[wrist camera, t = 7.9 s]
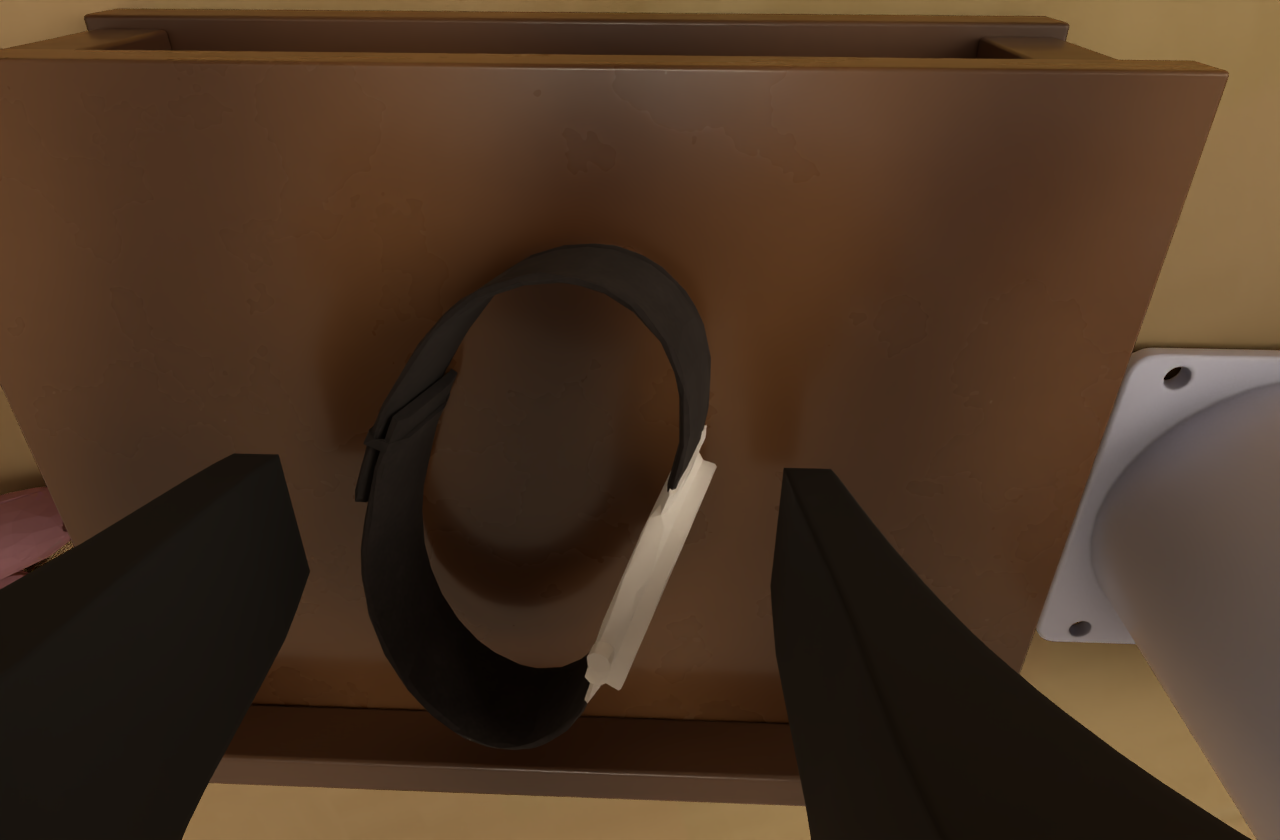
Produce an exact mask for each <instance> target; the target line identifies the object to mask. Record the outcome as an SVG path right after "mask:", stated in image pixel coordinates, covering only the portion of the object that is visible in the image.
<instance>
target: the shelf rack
mask: <svg viewBox="0 0 1280 840" xmlns="http://www.w3.org/2000/svg"><path fill="white" fill-rule="evenodd" d="M84 20H85V23H86V26H87V29H88V31H86V32H81V33H76V34H72V35H67V36H62V37H57V38H53V39H48V40H43V41H39V42H34V43H29V44H25V45H20V46H15V47H10V48H6V49H0V385H1V387H2V389H3V391H4V393H5V396H6V398H7V400H8V402H9V404H10V407H11V409H12V411H13V413H14V415H15V418H16V420H17V422H18V424H19V426H20V429H21V431H22V433H23V435H24V437H25V440H26V442H27V444H28V446H29V448H30V451H31V453H32V455H33V457H34V459H35V462H36V464H37V466H38V468H39V470H40V473H41V475H42V477H43V479H44V481H45V484H46V486H47V488H48V490H49V492H50V495H51V497H52V499H53V501H54V503H55V505H56V508H57V510H58V512H59V514H60V516H61V519H62V521H63V523H64V525H65V527H66V530H67V532H68V534H69V536H70V538H71V541H72V543H73V545H74V547H76V546H78V545H79V544H81V543H83V542H85V541H86V540H88V539H90V538H91V537H93V536H95V535H96V534H98V533H100V532H101V531H103V530H104V529H106V528H108V527H109V526H111V525H113V524H114V523H116V522H118V521H119V520H121V519H123V518H124V517H126V516H127V515H129V514H131V513H132V512H134V511H136V510H137V509H139V508H141V507H142V506H144V505H146V504H147V503H149V502H150V501H152V500H154V499H155V498H157V497H159V496H160V495H162V494H163V493H165V492H167V491H168V490H170V489H172V488H173V487H175V486H177V485H178V484H180V483H182V482H183V481H185V480H187V479H188V478H190V477H192V476H193V475H195V474H197V473H198V472H200V471H202V470H204V469H205V468H207V467H209V466H210V465H212V464H214V463H216V462H218V461H220V460H222V459H224V458H226V457H228V456H230V455H232V454H234V453H239V454H278V455H279V458H280V461H281V465H282V469H283V473H284V476H285V480H286V484H287V487H288V491H289V495H290V499H291V502H292V506H293V510H294V513H295V517H296V521H297V525H298V528H299V532H300V536H301V539H302V543H303V547H304V551H305V554H306V558H307V562H308V566H309V569H310V573H309V576H308V579H307V582H306V585H305V588H304V591H303V594H302V597H301V599H300V602H299V605H298V608H297V611H296V613H295V616H294V619H293V621H292V624H291V626H290V629H289V631H288V634H287V637H286V639H285V641H284V643H283V645H282V647H281V649H280V651H279V653H278V655H277V657H276V658H275V660H274V662H273V664H272V666H271V668H270V670H269V672H268V674H267V675H266V677H265V679H264V681H263V683H262V685H261V687H260V689H259V691H258V692H257V694H256V696H255V698H254V700H253V702H252V704H251V705H250V707H249V709H248V711H247V713H246V715H245V717H244V718H243V720H242V722H241V724H240V726H239V728H238V729H237V731H236V733H235V735H234V737H233V739H232V741H231V742H230V744H229V746H228V748H227V750H226V752H225V754H224V755H223V757H222V759H221V761H220V763H219V765H218V766H217V768H216V770H215V772H214V774H213V776H212V778H211V779H210V781H209V783H221V784H247V785H272V786H298V787H324V788H350V789H376V790H401V791H427V792H453V793H479V794H505V795H531V796H556V797H582V798H608V799H634V800H660V801H685V802H711V803H737V804H763V805H789V806H806V805H805V800H804V795H803V790H802V785H801V780H800V775H799V770H798V765H797V760H796V755H795V750H794V745H793V740H792V735H791V730H790V725H789V720H788V715H787V710H786V705H785V700H784V695H783V690H782V685H781V680H780V675H779V670H778V664H777V659H776V653H775V641H774V629H773V616H772V602H771V588H770V584H771V575H772V567H773V558H774V549H775V540H776V532H777V523H778V514H779V505H780V496H781V488H782V479H783V470H784V468H816V469H832V471H833V472H834V473H835V474H836V475H837V476H838V477H839V478H840V480H841V481H842V482H843V484H844V485H845V486H846V488H847V489H848V490H849V492H850V493H851V494H852V496H853V497H854V498H855V500H856V501H857V502H858V503H859V505H860V506H861V507H862V509H863V510H864V511H865V513H866V514H867V515H868V516H869V518H870V519H871V520H872V521H873V523H874V524H875V525H876V526H877V528H878V529H879V530H880V531H881V533H882V534H883V535H884V536H885V538H886V539H887V540H888V541H889V542H890V544H891V545H892V546H893V547H894V548H895V550H896V551H897V552H898V553H899V554H900V555H901V556H902V558H903V559H904V560H905V561H906V562H907V563H908V564H909V566H910V567H911V568H912V569H913V570H914V571H915V572H916V574H917V575H918V576H919V577H920V578H921V579H922V581H923V582H924V583H925V584H926V585H927V586H928V587H929V588H930V589H931V590H932V591H933V593H934V594H935V595H936V596H937V597H938V598H939V599H940V600H941V601H942V602H943V603H944V604H945V605H946V606H947V607H948V608H949V609H950V610H951V611H952V612H953V613H954V614H955V615H956V616H957V618H958V619H959V620H960V621H961V622H962V623H963V624H964V625H965V626H966V627H967V628H968V629H969V630H970V631H971V632H972V633H973V634H974V635H976V636H977V637H978V638H979V639H980V640H981V641H982V642H983V643H984V644H985V645H986V646H987V647H988V648H989V649H991V650H992V651H993V652H994V653H995V654H996V655H997V656H999V657H1000V658H1001V659H1002V660H1003V661H1004V662H1006V663H1007V664H1008V665H1009V666H1010V667H1011V668H1012V669H1014V670H1015V671H1016V672H1017V673H1018V674H1019V675H1020V672H1021V669H1022V666H1023V663H1024V661H1025V658H1026V655H1027V652H1028V649H1029V646H1030V643H1031V641H1032V638H1033V635H1034V632H1035V629H1036V626H1037V623H1038V621H1039V618H1040V615H1041V612H1042V609H1043V606H1044V603H1045V600H1046V598H1047V595H1048V592H1049V589H1050V586H1051V583H1052V580H1053V578H1054V575H1055V572H1056V569H1057V566H1058V563H1059V560H1060V558H1061V555H1062V552H1063V549H1064V546H1065V543H1066V540H1067V538H1068V535H1069V532H1070V529H1071V526H1072V523H1073V520H1074V517H1075V515H1076V512H1077V509H1078V506H1079V503H1080V500H1081V497H1082V495H1083V492H1084V489H1085V486H1086V483H1087V480H1088V477H1089V475H1090V472H1091V469H1092V466H1093V463H1094V460H1095V457H1096V455H1097V452H1098V449H1099V446H1100V443H1101V440H1102V437H1103V434H1104V432H1105V429H1106V426H1107V423H1108V420H1109V417H1110V414H1111V412H1112V409H1113V406H1114V403H1115V400H1116V397H1117V394H1118V392H1119V389H1120V386H1121V383H1122V380H1123V377H1124V374H1125V372H1126V369H1127V366H1128V363H1129V360H1130V357H1131V354H1132V351H1133V349H1134V346H1135V343H1136V340H1137V337H1138V334H1139V331H1140V329H1141V326H1142V323H1143V320H1144V317H1145V314H1146V311H1147V309H1148V306H1149V303H1150V300H1151V297H1152V294H1153V291H1154V289H1155V286H1156V283H1157V280H1158V277H1159V274H1160V271H1161V268H1162V266H1163V263H1164V260H1165V257H1166V254H1167V251H1168V248H1169V246H1170V243H1171V240H1172V237H1173V234H1174V231H1175V228H1176V226H1177V223H1178V220H1179V217H1180V214H1181V211H1182V208H1183V205H1184V203H1185V200H1186V197H1187V194H1188V191H1189V188H1190V185H1191V183H1192V180H1193V177H1194V174H1195V171H1196V168H1197V165H1198V163H1199V160H1200V157H1201V154H1202V151H1203V148H1204V145H1205V143H1206V140H1207V137H1208V134H1209V131H1210V128H1211V125H1212V122H1213V120H1214V117H1215V114H1216V111H1217V108H1218V105H1219V102H1220V100H1221V97H1222V94H1223V91H1224V88H1225V85H1226V82H1227V80H1228V77H1229V73H1228V72H1227V71H1225V70H1222V69H1219V68H1215V67H1212V66H1209V65H1205V64H1202V63H1199V62H1196V61H1171V60H1117V59H1114V58H1111V57H1108V56H1106V55H1103V54H1100V53H1097V52H1094V51H1091V50H1089V49H1086V48H1083V47H1080V46H1077V45H1074V44H1072V43H1069V42H1066V38H1067V34H1068V30H1069V24H1068V23H1066V22H1062V21H1059V20H1056V19H1052V18H1049V17H1046V16H933V15H814V14H694V13H574V12H454V11H335V10H215V9H113V10H108V11H102V12H97V13H91V14H87V15H85V16H84ZM576 244H606V245H616V246H619V247H622V248H625V249H627V250H630V251H633V252H635V253H638V254H641V255H644V256H645V257H647V258H648V259H650V260H652V261H653V262H655V263H657V264H658V265H660V266H661V267H663V268H664V269H665V270H666V271H667V272H668V273H669V274H670V275H671V276H672V277H673V278H674V279H675V280H676V281H677V282H678V283H679V284H680V285H681V286H682V287H683V288H684V289H685V290H686V292H687V293H688V295H689V297H690V298H691V300H692V301H693V303H694V305H695V306H696V308H697V310H698V312H699V315H700V317H701V319H702V321H703V323H704V327H705V332H706V336H707V341H708V346H709V351H710V356H711V377H710V393H709V408H708V413H707V417H706V421H705V425H707V427H706V438H705V440H704V442H703V444H702V446H701V448H700V450H699V453H700V455H701V457H702V458H703V460H705V461H708V462H711V463H714V464H715V465H716V466H717V468H716V470H715V472H714V474H713V477H712V479H711V482H710V484H709V486H708V489H707V491H706V493H705V496H704V498H703V500H702V503H701V505H700V507H699V510H698V512H697V514H696V517H695V519H694V521H693V524H692V526H691V529H690V531H689V533H688V536H687V538H686V540H685V543H684V545H683V547H682V550H681V552H680V554H679V556H678V559H677V561H676V563H675V566H674V568H673V570H672V573H671V575H670V577H669V580H668V582H667V584H666V587H665V589H664V591H663V594H662V596H661V598H660V601H659V603H658V605H657V608H656V610H655V612H654V615H653V617H652V619H651V622H650V624H649V626H648V629H647V631H646V633H645V635H644V638H643V640H642V642H641V645H640V647H639V649H638V651H637V654H636V656H635V659H634V661H633V663H632V666H631V668H630V670H629V673H628V675H627V677H626V680H625V682H624V684H623V686H622V688H621V689H620V690H617V689H615V688H613V687H611V686H610V685H608V684H606V683H605V684H603V685H601V686H600V688H599V689H598V690H597V692H596V693H595V694H594V696H593V697H592V698H591V700H590V701H589V702H588V704H587V706H586V708H585V710H584V712H583V713H582V714H581V715H580V716H579V718H578V719H577V720H576V721H575V722H574V723H573V725H572V726H571V727H570V728H569V729H568V730H567V731H566V732H564V733H563V734H561V735H559V736H558V737H556V738H554V739H553V740H551V741H549V742H548V743H546V744H544V745H541V746H538V747H535V748H532V749H520V750H510V749H498V748H491V747H486V746H484V745H481V744H478V743H475V742H473V741H470V740H467V739H465V738H463V737H461V736H460V735H458V734H457V733H455V732H453V731H452V730H451V729H449V728H448V727H447V726H445V725H444V724H442V723H441V722H440V721H438V720H437V719H436V718H434V717H433V716H432V715H431V714H430V713H429V712H428V711H427V710H426V709H425V708H424V707H423V706H422V705H421V704H420V703H419V702H418V701H417V700H416V699H415V698H414V696H413V695H412V694H411V693H410V692H409V691H408V690H407V688H406V687H405V686H404V684H403V683H402V681H401V680H400V678H399V677H398V675H397V674H396V672H395V670H394V669H393V667H392V666H391V664H390V663H389V661H388V659H387V658H386V656H385V655H384V653H383V650H382V648H381V645H380V643H379V640H378V637H377V635H376V632H375V630H374V627H373V625H372V622H371V620H370V617H369V614H368V609H367V603H366V598H365V592H364V586H363V581H362V575H361V543H362V535H363V528H364V520H365V515H366V510H367V505H368V501H367V502H355V488H356V484H357V481H358V477H359V473H360V469H361V465H362V462H363V458H364V454H365V450H366V446H367V445H364V444H363V443H364V441H365V438H366V436H367V434H368V431H369V429H370V428H371V427H373V426H374V423H375V421H376V419H377V416H378V414H379V411H380V409H381V407H382V404H383V402H384V401H385V399H386V397H387V396H388V394H389V392H390V391H391V389H392V387H393V386H394V384H395V382H396V381H397V379H398V377H399V376H400V374H401V372H402V370H403V369H404V367H405V365H406V364H407V362H408V360H409V359H410V357H411V355H412V354H413V352H414V350H415V349H416V347H417V345H418V344H419V342H420V341H421V340H422V339H423V338H424V337H425V335H426V334H427V333H428V332H429V331H430V330H431V328H432V327H433V326H434V325H435V324H436V323H437V321H438V320H439V319H440V318H441V317H442V316H443V314H444V313H445V312H446V311H448V310H449V309H450V308H451V307H452V306H453V305H455V304H456V303H457V302H458V301H459V300H460V299H462V298H464V297H466V296H468V295H469V294H471V293H473V292H475V291H476V290H478V289H479V288H481V287H482V286H484V285H485V284H487V283H488V282H490V281H491V280H492V279H494V278H495V277H497V276H498V275H500V274H502V273H503V272H505V271H506V270H507V269H509V268H511V267H512V266H514V265H516V264H517V263H519V262H520V261H522V260H524V259H525V258H527V257H529V256H530V255H533V254H536V253H540V252H543V251H546V250H550V249H553V248H556V247H559V246H563V245H576ZM451 369H453V370H454V371H456V372H457V376H456V378H455V381H454V383H453V386H452V388H451V391H450V396H449V399H448V401H447V404H446V406H445V408H444V410H443V412H442V414H441V416H440V418H439V421H438V424H437V427H436V431H435V435H434V440H433V445H432V449H431V454H430V459H429V464H428V468H427V473H426V478H425V482H424V490H423V507H422V513H423V527H424V540H425V546H426V550H427V554H428V558H429V562H430V565H431V569H432V571H433V574H434V576H435V578H436V581H437V583H438V585H439V588H440V590H441V593H442V595H443V596H444V598H445V599H446V601H447V602H448V604H449V605H450V607H451V608H452V610H453V611H454V613H455V614H456V616H457V617H458V619H459V620H460V621H461V622H462V623H463V625H464V626H465V627H466V628H467V629H468V630H469V631H470V632H471V633H472V634H473V635H474V636H475V637H476V638H477V639H478V640H479V641H480V642H481V643H483V644H484V645H486V646H487V647H488V648H490V649H491V650H492V651H494V652H495V653H497V654H499V655H501V656H503V657H506V658H508V659H510V660H512V661H514V662H516V663H518V664H521V665H525V666H529V667H534V668H551V667H563V666H565V665H568V664H570V663H573V662H575V661H577V660H580V659H582V658H583V657H584V656H585V655H587V654H588V653H589V652H590V650H591V648H592V646H593V644H595V642H596V640H597V637H598V634H599V631H600V628H601V625H602V622H603V620H604V617H605V615H606V613H607V610H608V608H609V606H610V604H611V601H612V599H613V597H614V594H615V592H616V590H617V587H618V585H619V583H620V581H621V578H622V576H623V574H624V571H625V569H626V567H627V564H628V562H629V560H630V557H631V555H632V553H633V551H634V548H635V546H636V544H637V541H638V539H639V537H640V534H641V532H642V530H643V528H644V526H645V524H646V522H647V520H648V518H649V516H650V513H651V511H652V509H653V507H654V505H655V503H656V501H657V499H658V497H659V495H660V493H661V491H662V488H663V486H664V484H665V482H666V480H667V478H668V476H669V474H670V472H671V469H672V466H673V462H674V459H675V455H676V452H677V448H678V444H679V393H678V388H677V383H676V378H675V374H674V371H673V369H672V366H671V364H670V362H669V360H668V358H667V355H666V353H665V351H664V349H663V346H662V344H661V342H660V341H659V340H658V339H657V338H656V336H655V335H654V334H653V333H652V332H651V331H650V330H649V329H648V328H647V327H646V326H645V324H644V323H643V322H642V321H641V320H640V319H639V318H638V317H637V316H636V315H635V314H634V312H632V311H631V310H629V309H628V308H626V307H624V306H623V305H621V304H620V303H618V302H617V301H615V300H613V299H612V298H610V297H609V296H607V295H606V294H604V293H600V292H597V291H594V290H591V289H588V288H585V287H582V286H578V285H572V284H565V283H553V284H538V285H524V286H521V287H518V288H515V289H512V290H508V291H505V292H502V293H499V294H496V295H495V296H494V297H493V298H492V299H491V301H490V302H489V303H488V305H487V306H486V307H485V309H484V310H483V311H482V313H481V314H480V315H479V317H478V318H477V319H476V321H475V322H474V323H473V325H472V326H471V327H470V329H469V330H468V332H467V334H466V335H465V337H464V338H463V340H462V342H461V344H460V346H459V347H458V349H457V351H456V353H455V355H454V357H453V359H452V360H451V362H450V364H449V366H448V368H447V370H446V372H445V373H444V375H443V376H445V375H446V374H447V373H448V372H450V370H451Z"/></svg>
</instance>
